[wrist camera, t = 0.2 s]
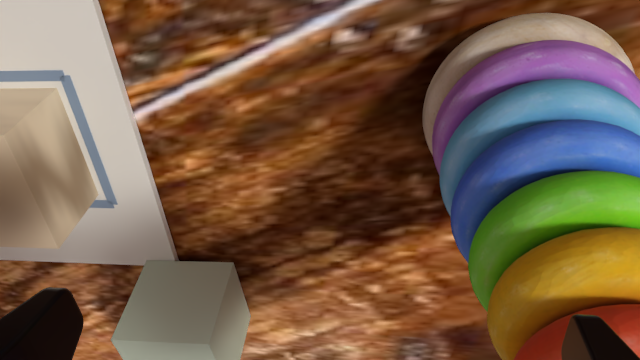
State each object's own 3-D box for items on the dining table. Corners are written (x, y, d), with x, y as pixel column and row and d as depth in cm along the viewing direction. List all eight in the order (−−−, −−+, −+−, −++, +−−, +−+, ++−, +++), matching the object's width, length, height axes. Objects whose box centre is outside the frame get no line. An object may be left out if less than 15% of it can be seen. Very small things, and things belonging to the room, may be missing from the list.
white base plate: (179, 261, 30) (176, 267, 30) (-14, 254, 32) (-18, 259, 32) (87, -35, 21) (81, -31, 21) (-178, -23, 23) (-187, -20, 22)
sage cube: (250, 316, 33) (231, 395, 29) (172, 313, 33) (143, 390, 30) (233, 262, 29) (209, 344, 26) (146, 260, 30) (110, 339, 26)
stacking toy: (390, 140, 24) (366, 735, 9) (486, -30, 19) (754, 643, 4) (546, 202, 25) (748, 829, 10) (675, 54, 20) (1404, 836, 5)
